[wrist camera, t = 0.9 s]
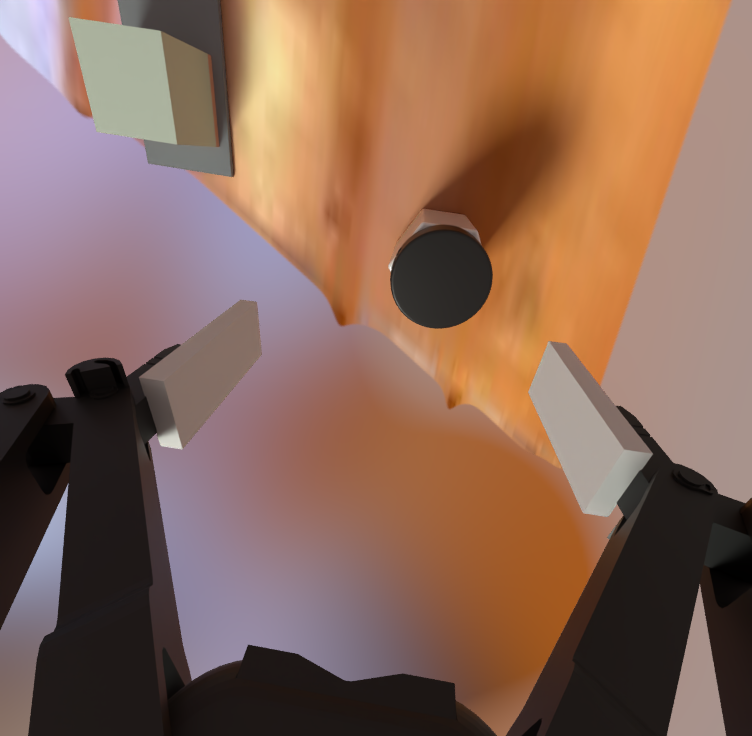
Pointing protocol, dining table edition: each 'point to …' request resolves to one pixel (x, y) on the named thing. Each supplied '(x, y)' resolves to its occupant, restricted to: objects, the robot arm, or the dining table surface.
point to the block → (146, 84)
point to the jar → (440, 270)
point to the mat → (204, 31)
